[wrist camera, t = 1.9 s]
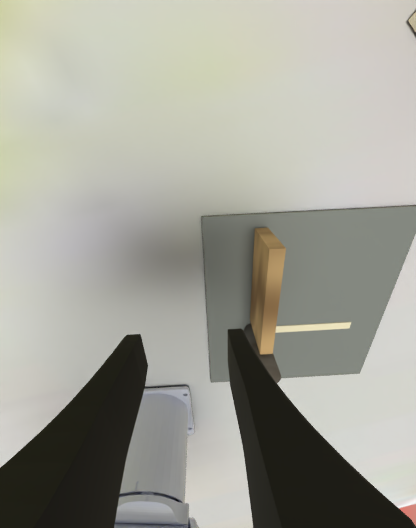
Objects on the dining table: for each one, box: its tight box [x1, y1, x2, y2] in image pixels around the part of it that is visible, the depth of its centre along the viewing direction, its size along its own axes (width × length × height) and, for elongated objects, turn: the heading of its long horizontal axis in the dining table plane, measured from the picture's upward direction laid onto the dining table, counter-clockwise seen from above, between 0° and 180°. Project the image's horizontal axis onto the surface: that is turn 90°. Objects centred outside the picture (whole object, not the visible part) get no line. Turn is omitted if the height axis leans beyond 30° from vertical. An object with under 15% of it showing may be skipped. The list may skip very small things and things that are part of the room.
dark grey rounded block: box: [244, 323, 281, 383], centre depth 21 cm, size 8×2×5 cm, turn 2°
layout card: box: [202, 205, 416, 382], centre depth 21 cm, size 19×17×1 cm
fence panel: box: [250, 228, 286, 354], centre depth 17 cm, size 9×1×4 cm, turn 2°
